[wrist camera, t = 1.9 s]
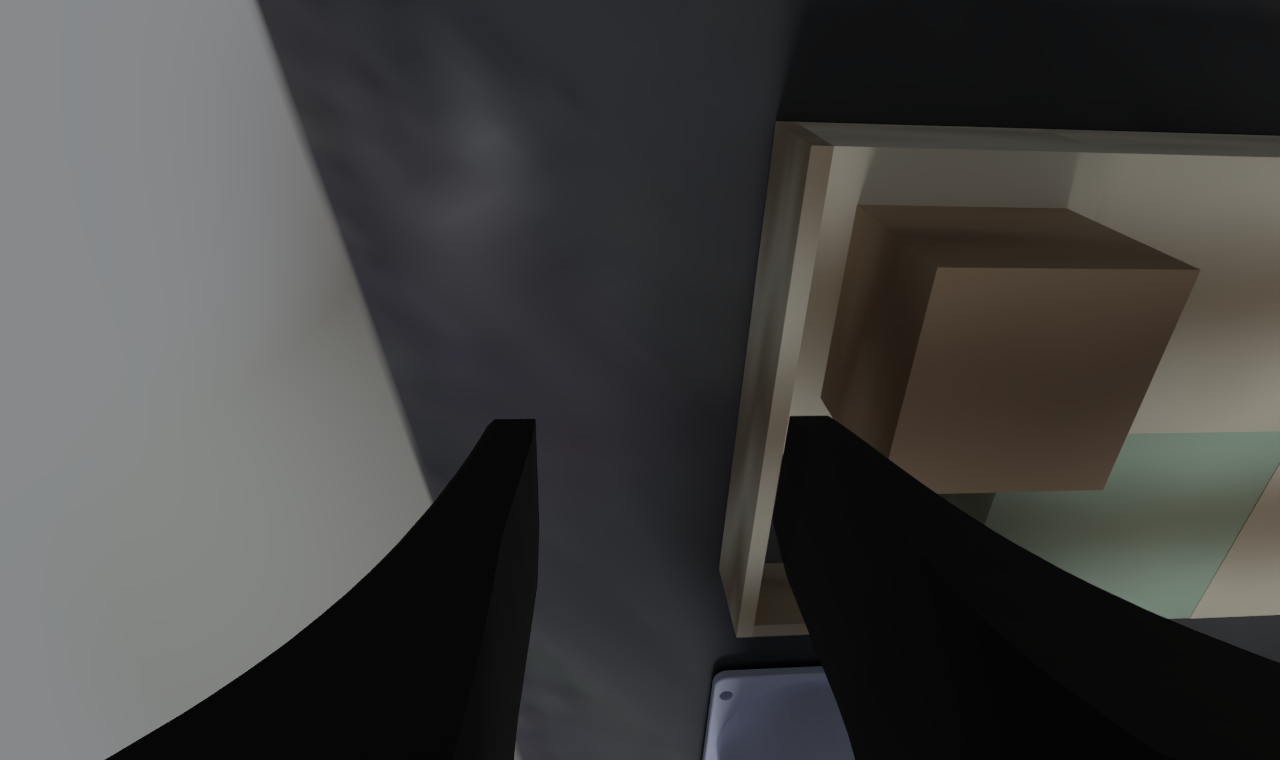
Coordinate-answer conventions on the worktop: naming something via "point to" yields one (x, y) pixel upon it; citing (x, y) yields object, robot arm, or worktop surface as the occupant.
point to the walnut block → (998, 343)
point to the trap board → (1172, 407)
